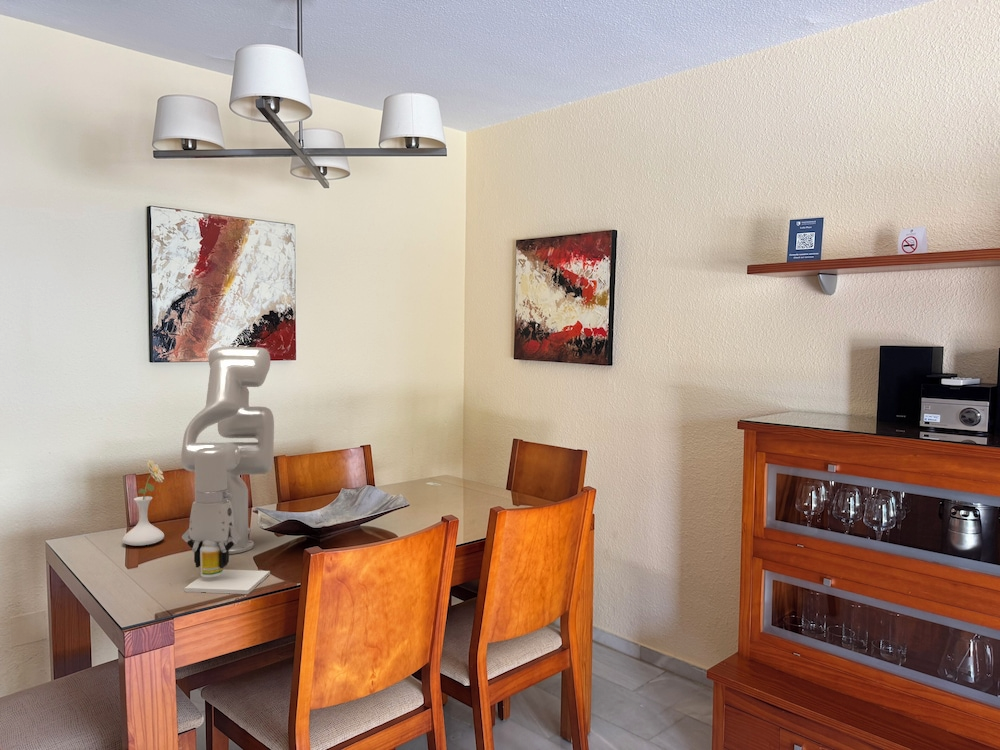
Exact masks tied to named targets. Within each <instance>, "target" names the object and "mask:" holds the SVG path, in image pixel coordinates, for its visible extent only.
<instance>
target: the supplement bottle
mask: <svg viewBox="0 0 1000 750" xmlns="http://www.w3.org/2000/svg"><path fill="white" fill-rule="evenodd" d="M220 553H221V548H220V545H219V543H218V542H213V541H209V540H206V541H203V545H202V546H201V548H200V567H199V568H200V570H199V572H200V577H201V576H203V577H215V576H218V575H220V574H222V572H223V569H224V568H220V567H219V554H220Z"/></svg>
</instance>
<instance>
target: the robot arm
mask: <svg viewBox="0 0 1000 750" xmlns="http://www.w3.org/2000/svg"><path fill="white" fill-rule="evenodd" d="M208 363H209V368H210V369H209V377H208V384H207V394H206V401H205V405H204V408H203V409H202V410H200V411H199V412H198V413H197V414H196V415H195V416H194V417H193V418H192V419H191V420H190V422H189V423H188V425H187V427H186V429H185V430H184V434H183V440H182V447H181V455H180V457H181V458H180V460H181V461H180V462H181V465H182V467H183V469H184V470H185V471H188V472H194V501H193V502H192V505H191V509H190V510H191V511H190V515H189V527H188V528H187V530H185V532H184V533H183V534H182V536H181V539H182V540H184V542H185V543H187V545H188V546H189V547H190V548H191V550H192V552H193V554H194V560H193V561H194V563H195V568H200V548H201V546H203V545H204V544H203V541H206V540H209V541H213V542H218V543H219V545H220V548H221V553H220V554H219V567H220V568H223V569H224V568H225V567H227V565H228V564H229V560H230V558H229V557H230V556H229V555H232V554H240V553H244V552H248V551H250V550H251V549H253V548H254V547H255V546H254V544H255V542H254V541H253V540H251V539H249V534H251V532H252V528H251V527H249V489H248V485H247V484H246V482H245V481H244V480H243V479H242V478H241V477H240V476H243V475H244V476H245V475H265V474H267V473H270V472H271V470H272V468H273V462H274V438H275V436H274V435H275V420H274V415H273V411H272V410H271V409H270V408H268V407H267V406H250V405H249V404H250V403H249V401H250V400H249V399H250V398H249V397H250V391H249V389H248V388H259V387H261V386H263V384H264V383H265V381H266V379H267V376H268V373H269V371H270V367H271V355H270V353H269V351H268V350H267V349H266V348H264V347H254V346H250V347H249V346H247V347H245V346H222V347H221V346H220V347H216V348H213V349H211V350H210V352H209V353H208ZM216 424H217V432H218V434H219V435H220V436H221V438H226V439H256V440H257V441H252V442H250V441H248V442H243V441H242V442H241V441H240V442H239V441H238V442H235V441H234V442H233V441H232V442H197V440H198V437H199V435H200V434H201V433H203V431H204V430H206V429H207V428H209V427H211V426H213V425H216Z"/></svg>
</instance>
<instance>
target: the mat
mask: <svg viewBox="0 0 1000 750" xmlns="http://www.w3.org/2000/svg"><path fill="white" fill-rule="evenodd" d="M268 575H269V576H270V575H271V571H270V570H251V569H249V570H247V569H224V568H223V572H222V574H220V575H218V576H215V577H203V576H201V575H200V576H199V577H198V578H196V579H195V580H194V581H192V582H191V583H189V584H188V585H187V586H185V587H184V590H183V592H184V593H201V592H206V593H207V594H229V593H230V594H233V595H249V594H251V592H252V591H254V590H255V589H256V588H257V587H258V586H259V585H260V584H261V583H262V582H264V581H265V580H266V579H265V578H266V577H267V576H268ZM269 576H268V577H269ZM268 577H267V578H268ZM264 579H265V580H264ZM260 582H261V583H260ZM259 583H260V584H259ZM258 584H259V585H258ZM257 585H258V586H257ZM256 586H257V587H256ZM255 587H256V588H255Z"/></svg>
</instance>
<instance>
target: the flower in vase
mask: <svg viewBox="0 0 1000 750" xmlns="http://www.w3.org/2000/svg"><path fill="white" fill-rule="evenodd" d="M146 465H147V469H148V471H149V473H150V475H149V476H148V478H147V481H146V484H145V487H144V488H139V490H138V492H137V493H138V494H142V496H137V497H135V498H133V500H134V502H135V503H136V505H137V508H138V515H139V516H138V522H137V523H136V525H134V527H132V528H131V529H130V530H128V532H126V534H124V535H123V537H122V539H121V541H122V542H123V544H124V545H125V544H126V545H129V546H135V547H136V546H140V547H141V546H146V545H147V546H149V545H154V544H156V543H159V542H160V541H162V540H163V539H164V538H165V534H164V532H163V531H162V530H161V529H159V528H158V527H157V526H155V525H153V524H151V523H150V521H149V519H148V512H149V511H148V510H149V505H150V502H151V501H152V500H153V497H152V496H148V495H147V496H146V493H147V492H148V491H149V492H153V491H154V490H155V487H154V485H153V484H151V483H149V480H150V479H151V477H152V478H153V480H154V481H155V482H158V483H163V482H164V481H163V480H165V478H164V477H165V476H164V475H163V474H164V472H163V471H162V470H161V469H160V467H159V464H157V463H156V464H155V461H154V460H153V459H148V461H147V464H146Z"/></svg>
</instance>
